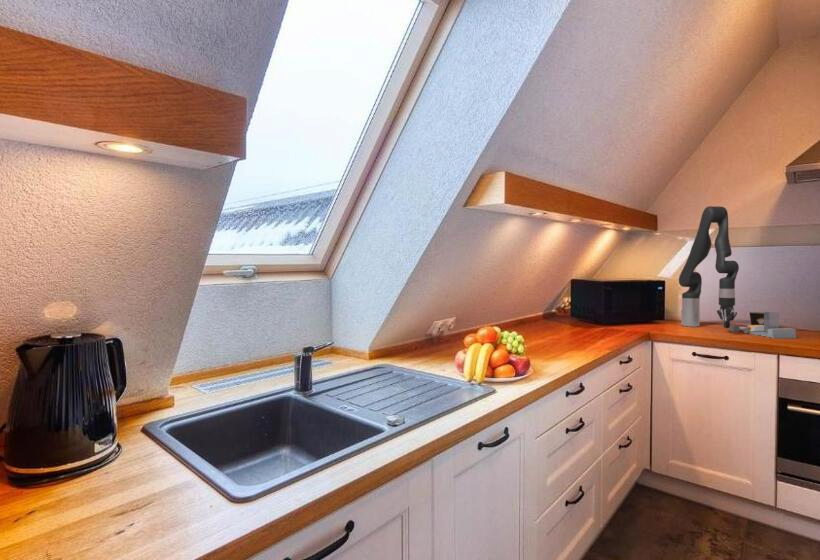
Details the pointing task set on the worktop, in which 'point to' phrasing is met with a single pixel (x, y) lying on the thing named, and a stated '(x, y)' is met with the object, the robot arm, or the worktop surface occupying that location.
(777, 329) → the vise
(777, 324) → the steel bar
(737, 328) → the vise jaw
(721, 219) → the robot arm
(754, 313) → the coffee mug
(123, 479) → the worktop surface
